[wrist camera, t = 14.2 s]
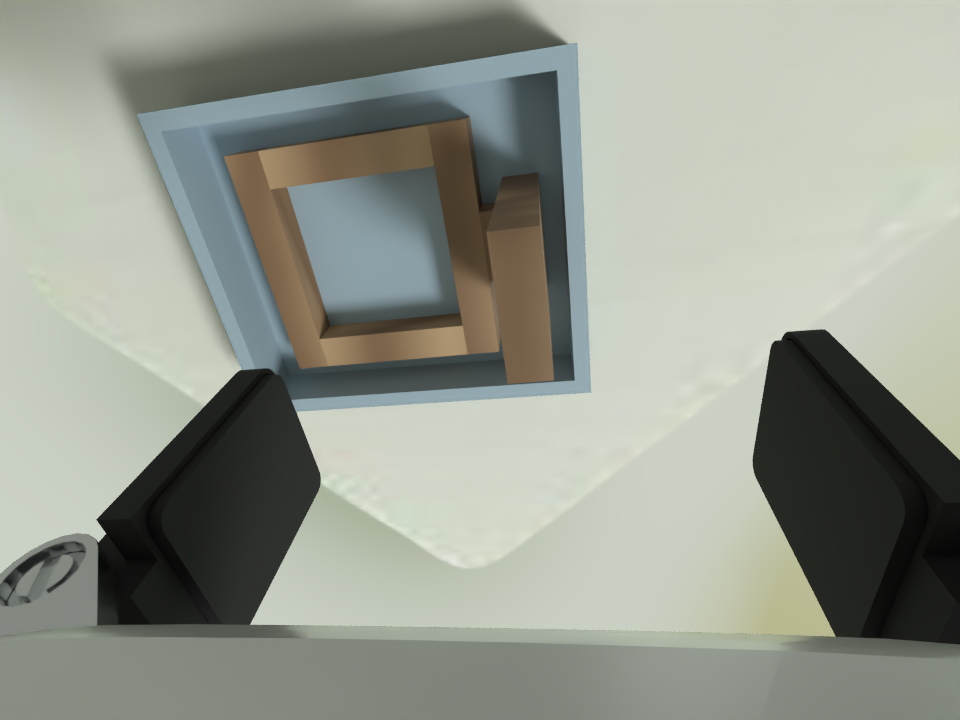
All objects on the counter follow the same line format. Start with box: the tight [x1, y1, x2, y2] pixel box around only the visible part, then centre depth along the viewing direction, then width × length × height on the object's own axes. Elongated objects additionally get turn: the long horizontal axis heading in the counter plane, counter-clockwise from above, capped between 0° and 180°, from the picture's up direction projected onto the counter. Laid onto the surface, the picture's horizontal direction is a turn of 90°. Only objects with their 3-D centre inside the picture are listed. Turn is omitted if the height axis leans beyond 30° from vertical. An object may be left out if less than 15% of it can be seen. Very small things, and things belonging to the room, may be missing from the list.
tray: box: [136, 43, 591, 412], centre depth 23 cm, size 14×16×3 cm
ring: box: [224, 116, 554, 384], centre depth 20 cm, size 12×10×8 cm
